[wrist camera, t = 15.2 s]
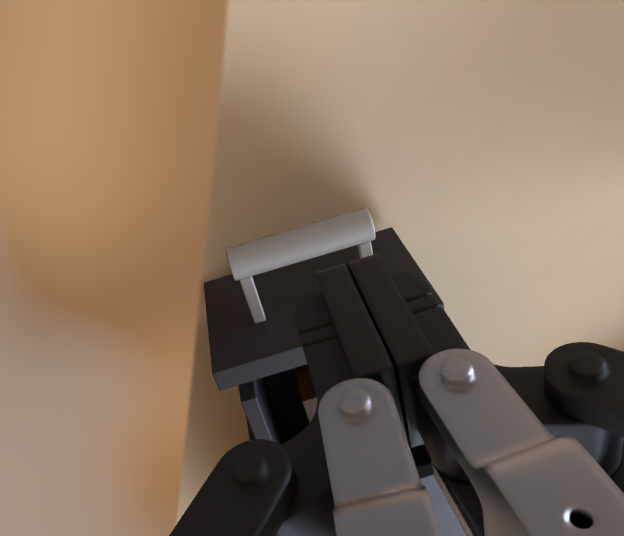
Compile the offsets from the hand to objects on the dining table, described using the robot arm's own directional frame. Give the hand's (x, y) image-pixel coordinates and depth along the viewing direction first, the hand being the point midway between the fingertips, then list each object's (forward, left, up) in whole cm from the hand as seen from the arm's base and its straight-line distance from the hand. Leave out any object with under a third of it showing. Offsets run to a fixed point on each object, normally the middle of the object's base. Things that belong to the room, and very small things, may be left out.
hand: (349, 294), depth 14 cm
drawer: (0, -15, -18) cm, 24 cm away
